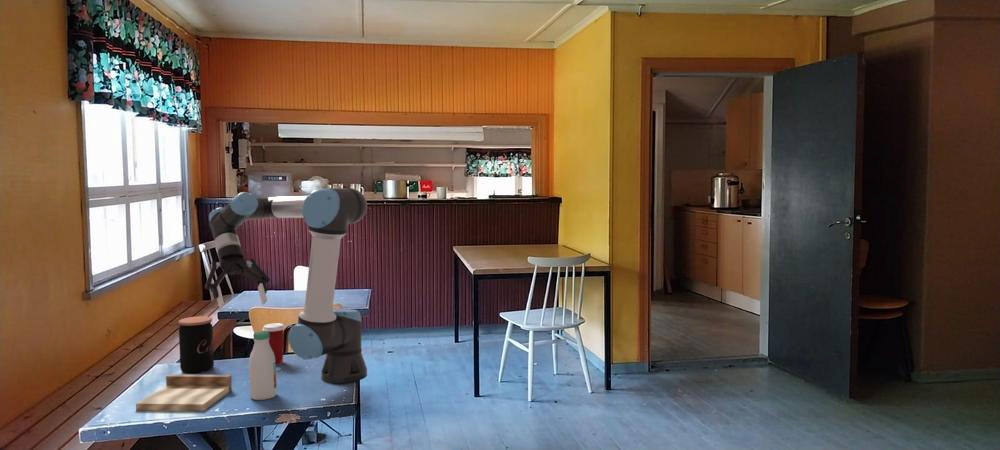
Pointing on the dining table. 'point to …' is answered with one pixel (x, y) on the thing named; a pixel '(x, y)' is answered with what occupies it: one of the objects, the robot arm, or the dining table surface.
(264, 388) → the milk bottle
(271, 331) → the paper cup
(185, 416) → the dining table surface
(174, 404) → the light wooden flat tray
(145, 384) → the dining table surface
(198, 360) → the coffee jar
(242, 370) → the dining table surface
